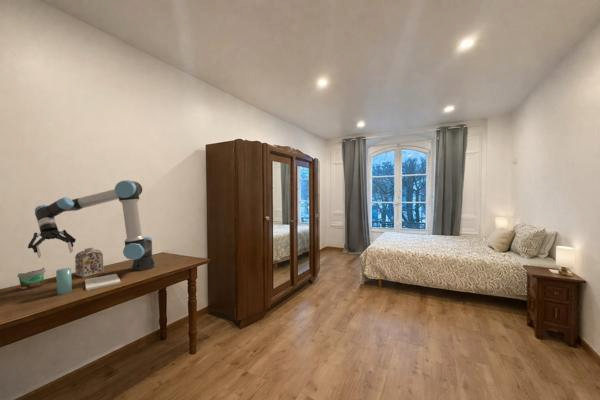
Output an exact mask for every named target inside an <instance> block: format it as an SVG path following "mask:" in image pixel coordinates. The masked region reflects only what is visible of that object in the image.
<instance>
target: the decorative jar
mask: <svg viewBox="0 0 600 400" xmlns="http://www.w3.org/2000/svg"><path fill="white" fill-rule="evenodd" d="M74 258H75V259H74V263H75V265H74V266H75V267H74V268H75V275H76V276H79V277H81V278H87V277H90V276H94V275H99V274H103V273H104V254H103V251H101V250H100V249H94V247H87V248H85V249H84V250H81V251H79V252H77V253H76V255H75V256H74Z"/></svg>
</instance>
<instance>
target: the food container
mask: <svg viewBox="0 0 600 400" xmlns="http://www.w3.org/2000/svg"><path fill="white" fill-rule="evenodd" d="M45 272H47V271H46V269H45V267H42V268H41V269H37V270H30V271H28V272H24V273H18V274H17V277H16V278H18V282H19V286H20V290H21V291H24V290H25V291H27V290H28V291H29V290H32V289H37V288H40V287H42V286H44V280H45Z"/></svg>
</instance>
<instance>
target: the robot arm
mask: <svg viewBox="0 0 600 400" xmlns="http://www.w3.org/2000/svg"><path fill="white" fill-rule="evenodd" d="M142 193H143V185H141V183H139V182H137V181H133V180H121V181H118V183H116V184H115V186H114V189H110V190H106V191H102V192H97V193H93V194H90V195H86V196H82V197H79V198H73V199H71V198H69V197H67V196H64V197H62V198H59V199H57V200H55V201H54V202H52V203H51V204H49V205H46V204H42V205H38V206H37V207H35V209H34V216H35V218H36V221H37V224H38V227H39V231H40V232H34V233H33V237H32V238H31V240H30V242H29V243H28V245H27V249H32V250H33V253H35V254H36V255H37V258H41V256H42V255H41V254H42V253H41V251H40V247H39V246H40V245H41V243H43V242H44V241H46V240H55V239H56V240H60V241H62V242H65V243H66V244H67V247H68V249H69V253H70V254H72V253H73V250H74V249H73V247H74V243H76V238H75V237H74V236H72V235H71V234H70V233H69V232H67V230H65V229H63V230H62V231H61V230H60V231H59V228H58V226H57V222H56V220H55V218H56V217H57V216H58V215H61V214H62V213H64V212H72V211H73V212H75V211H76V212H77V211H79V210H82V209H86V208H89V207H93V206H97V205H101V204H105V203H109V202H113V201H116V200H117V201H118V202H120V203H121V207H122V213H123V219H124V221H123V222H124V226H125V227H124V228H125V235H126V238H125V240H124V248H123V251H122V253H123V256H124V257H125V259H127V260H132V263H131V265H130V269H131V271H134V272H135V271H137V272H138V271H146V270H150V269H152V268H155V267H156V262H155V260H154V258H153V240H152V239H153V238H152V237H151V236H143V235H142V227H141V219H140V213H139V206H138V201H140V195H142ZM39 237H40V238H39ZM37 238H39V240H37ZM36 240H37V241H36Z"/></svg>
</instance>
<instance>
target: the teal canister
mask: <svg viewBox="0 0 600 400" xmlns="http://www.w3.org/2000/svg"><path fill="white" fill-rule="evenodd" d="M55 276H56V294H57V295H59V296H61V295H66V294H69V293H72V292H73V283H72V268H71V267H65V268H61V269H57V270H55Z"/></svg>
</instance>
